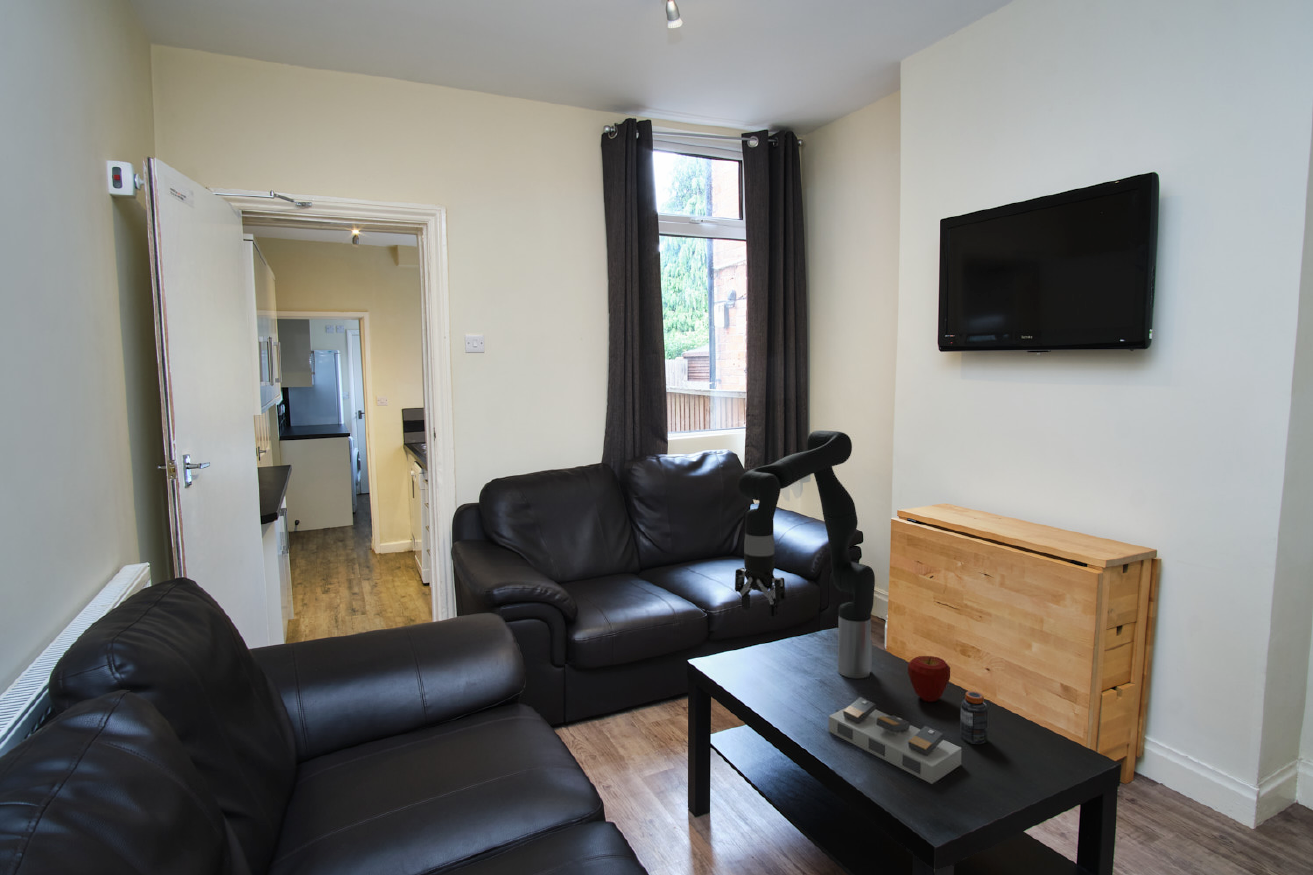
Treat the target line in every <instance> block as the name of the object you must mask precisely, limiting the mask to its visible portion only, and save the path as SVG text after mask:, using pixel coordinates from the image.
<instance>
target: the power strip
mask: <svg viewBox="0 0 1313 875" xmlns="http://www.w3.org/2000/svg"><path fill="white" fill-rule="evenodd" d="M846 708H847V707H844V708H842V709H841V710H839V709H837V710H836V711H835V712H834V713H832V714H830V715H828V732H829V733H831V734H833V735H835V736H836V737H838V738H841V739H842V740H845V741H847V742H849V743H851V744H853V745H855V746H856V747H858V748H861V749H862V750H864V751H866V752H868V753H871V754H872V755H874V756H876V757H878V758H880V759H882V760H884V761H886V762H888V763H890V764H892V765H894V766H896V767H898V768H899V769H902V770H904V771H905V772H908V773H910V774H911V775H913V776H915V777H917V778H919V779H921V780H924V781H925V782H927V783H929V784H931V785H933V784H934V783H936V782H937V781H940V779H942V778H943V777H945V776H946V775H948V774H949V773H951V772H952V771H954V770H955V769H956V768H958V767H960V766H962V747H961V746H958V745H955V744H953V743H951V742H949V741H948V740H943V741H942V742H941V743H940V744H939V745H938V746H937V747H936V748H935V749H934V750H933V751H932V752H931V753H930V754H929V755H928V756H925V755H923V754H921V753H919V752H917V751H914V750H912V749H910V748H909V744H908V742H909V740H910V739H912V738H913V737H914V736H915V735H916V734H917V733H918V732H919V731H920V730H921V729H920V728H918V727H916V726H914V725H911V724H910V727H909V729H908V730H903V731H897V732H891V731H889V730H886V729H884V728H882V727H880V726H878V725H876V724H877V718H878V717H887V716H890V715H889V714H887V713H885V712H882V711H880V710H878V709H875V710H874V711H873V712H872V713H871V714H870V715H869V716H867V717H866V718H865V719H864V720H863V721H862V722H860V723H859V724H858V723H856V722H854V721H852V720H850V719H847V718H845V717H844V714H843V711H844V710H845V709H846Z"/></svg>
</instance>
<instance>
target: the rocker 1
mask: <svg viewBox="0 0 1313 875" xmlns="http://www.w3.org/2000/svg"><path fill="white" fill-rule="evenodd" d="M845 708H846V709H845V710H844V711H843V714H844V717H845V718H847V719H850V720H852V721H854V722H856V723H858V724H859V723H860V722H862V721H863V720H864V719H865V718H866V717H867V716H869V715H870V714H871V713H872V712H873V711H874V710H875V709H876V703H874V702H872V701H870V700H868V699H866V698H863V697H861V696H859V697H858V698H857V699H856V700H854V702H852V703H851V704H850V705H848V706H847V707H845ZM876 710H877V709H876Z"/></svg>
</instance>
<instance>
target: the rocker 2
mask: <svg viewBox="0 0 1313 875" xmlns="http://www.w3.org/2000/svg"><path fill="white" fill-rule="evenodd" d="M876 725H878V726H880V727H882V728H884V729H886V730H889V731H891V732H897V731H903V730H908V729H909V727H910V725H911V722H910V721H908V720H905V719H903V718H900V717H898V716H896V715H889V716H887V717H878V718H877V724H876Z"/></svg>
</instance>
